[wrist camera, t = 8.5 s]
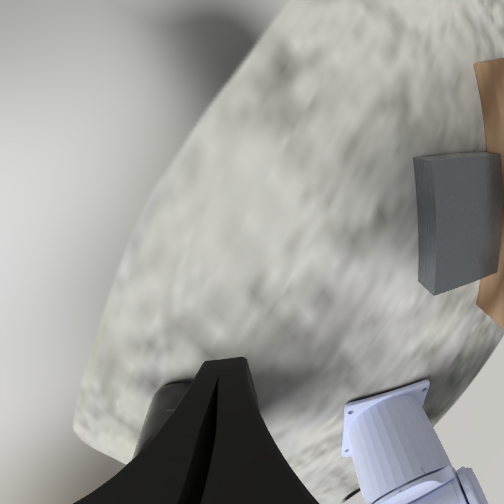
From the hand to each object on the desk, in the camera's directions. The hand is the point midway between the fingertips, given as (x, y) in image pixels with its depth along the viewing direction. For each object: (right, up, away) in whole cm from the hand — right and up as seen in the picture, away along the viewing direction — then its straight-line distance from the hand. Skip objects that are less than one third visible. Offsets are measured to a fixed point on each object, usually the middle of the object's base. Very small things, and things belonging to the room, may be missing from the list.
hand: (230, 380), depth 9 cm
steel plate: (+14, +7, +7) cm, 17 cm away
